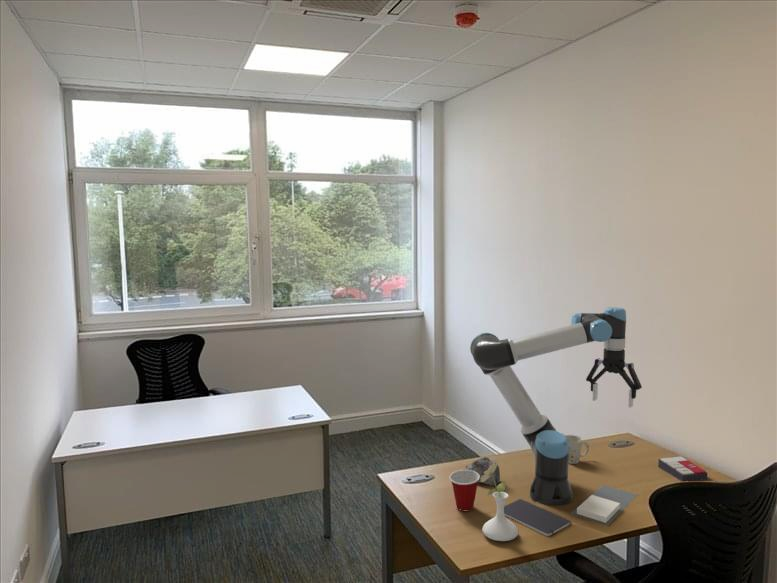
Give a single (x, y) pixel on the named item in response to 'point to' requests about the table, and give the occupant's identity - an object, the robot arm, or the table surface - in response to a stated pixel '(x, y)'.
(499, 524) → the flower in vase
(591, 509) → the tile
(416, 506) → the table surface
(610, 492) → the mat
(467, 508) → the plastic cup
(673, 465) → the calculator
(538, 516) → the notebook
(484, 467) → the mineral rock
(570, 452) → the mug
